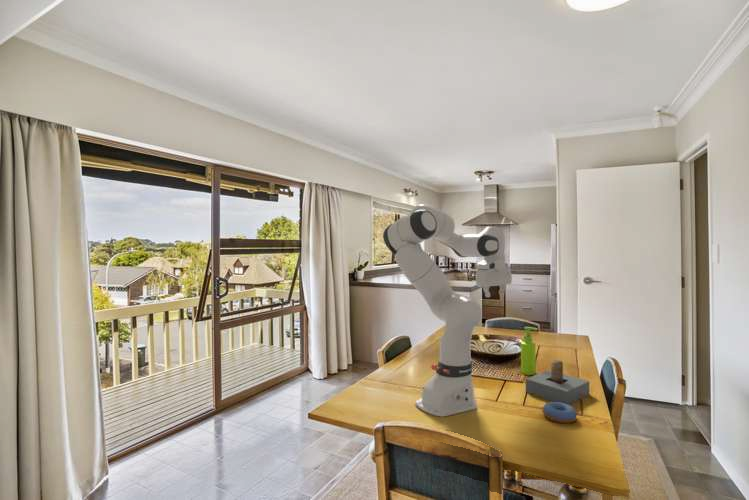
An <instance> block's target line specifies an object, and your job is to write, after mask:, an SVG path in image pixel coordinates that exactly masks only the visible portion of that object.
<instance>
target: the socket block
mask: <svg viewBox="0 0 749 500" xmlns="http://www.w3.org/2000/svg"><path fill="white" fill-rule="evenodd" d="M525 393H529V394H531V395H535V396H537V397H539V398H543V399H546V400H549V401H551V402H561V403H565V404H568V405H570V406H571V404H573V403H575V402H578V401H579V400H581V399H583V398H585V397H588V396H589V395H590V381H589V380H586V379H582V378H578V377H576V376H571V375H568V374H564V373H563V383H562V384H559V383H555V382H552V381H551V369H550V370H549V369H547V370H545V371H543V372H540V373H537V374H534V375H530V376H529V377H526V378H525Z"/></svg>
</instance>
